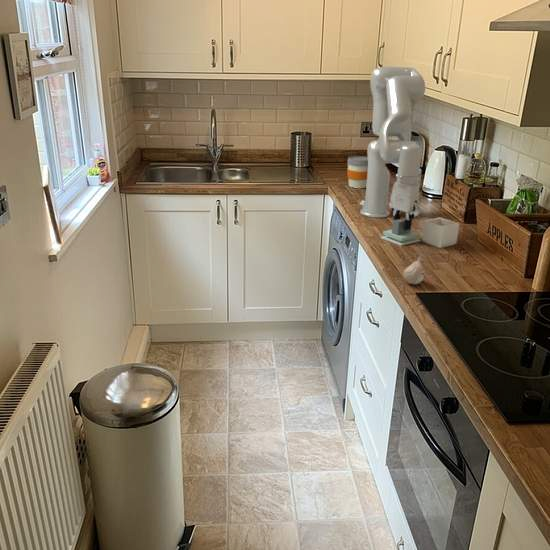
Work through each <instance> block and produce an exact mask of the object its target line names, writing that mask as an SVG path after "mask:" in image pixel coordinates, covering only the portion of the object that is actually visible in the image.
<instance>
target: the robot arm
mask: <svg viewBox="0 0 550 550" xmlns="http://www.w3.org/2000/svg"><path fill="white" fill-rule="evenodd" d="M369 81H370V82H369V83H370V85H369V86H370V91H371V94H372V95H371V96H372V101H373V103H372V104H373V105H372V107H373V108H372V123H371V124H372V133H373V134H374V135H375V136H376V137H378V139H376V140H375V139H374V140H372V141H371V142H369V144H368V145H367V153H366V154H367V157H368V173H367V185H366V189H365V197H364V198H365V199H364V200H361V201H360V202H359V206H361V207H362V208H361V209H360V211H359V212H360V214H361V215H363V216H365V217H370V218H386V217H389V216H390V214H391V211H392V215H393V220H397V219H402V215H401V212H402V213H405V218H406V220H405V223H404V230H409V229H412V221H413V220H414V219H415V217H417V216H419V215H420V214H421V212H420V208H419V202H420V201H419V200H420V187H419V185H418V177H419V169H421V168H420V167H421V159H422V154H423V153H422V152H423V148H422V146H421V145H418V143H417V142H416V141H413V140H411V139H412V129H413V128H412V127H413V125H412V118H411V117H412V115H413V112H412V111H413V110H412V103H411V102H412V101H411V100H420V99H422V98H423V97H424V95H425V92H426V82H425V80H424V77H423V76H422V75H421V73H419V71H417V69H415V68H414V67H406V66H405V67H404V66H403V67H402V66H380V67H376V68H374V70H372V72H371V74H370V80H369ZM389 137H396V138H397V139H389ZM387 164H398V166H397V173H396V174H395V177H396V181H394V184H393V187H392V190H391V195H390V202H389V203H388V201H389V200H388V199H389V197H388V196H389V190H390V189H389V188H390V182H391V181H390V180H391V179H390V178H391V173H390V170H389V169H388V167H387V166H386V165H387ZM388 207H389V208H390V210H391V211H389V210H388V209H387V208H388Z"/></svg>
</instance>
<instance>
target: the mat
mask: <svg viewBox="0 0 550 550" xmlns="http://www.w3.org/2000/svg"><path fill="white" fill-rule="evenodd" d="M380 239H383V240H384V241H387V242H390V243H393V244H395V245H397V246H406V245H409V244H414V243H418V242H421V239H419V238H418V237H417V238H414V239H412V240H408V241H404V242H399V241H396V240H394V239H391V238H388V236H386V235H382V236H380Z"/></svg>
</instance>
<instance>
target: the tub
mask: <svg viewBox="0 0 550 550" xmlns="http://www.w3.org/2000/svg"><path fill="white" fill-rule="evenodd" d="M459 228H460V222H457V221H454V220H450V219H446V218H443V217H435V218H431V219H426V220H424V221H423V226H422V233H421V239H420V242H422V243H425V244H428V245H430V246H434V247H436V248H439V249H442V248H446V247H451V246H454V245H457V242H458V236H459V235H458V234H459Z"/></svg>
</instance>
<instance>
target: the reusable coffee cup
mask: <svg viewBox="0 0 550 550" xmlns="http://www.w3.org/2000/svg"><path fill="white" fill-rule="evenodd" d="M346 163H347V168H346V169H347V173H346V174H347V178H348V187H349V186H350V187H354V188H365V187H366V185H367V173H368V156H363V155H362V156H361V155H353V156H348V158H347V162H346Z"/></svg>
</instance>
